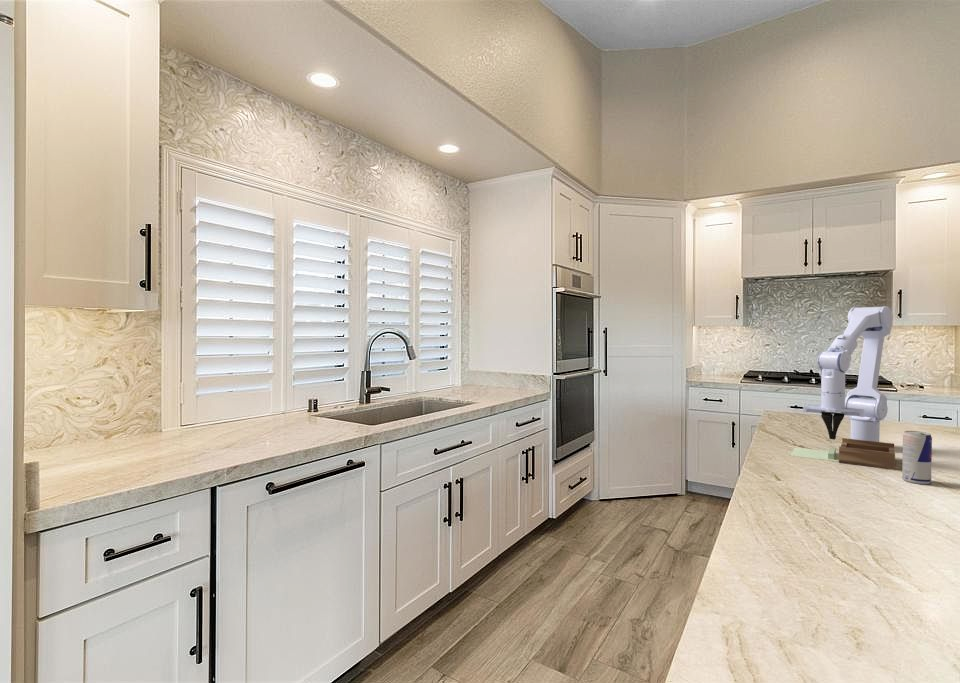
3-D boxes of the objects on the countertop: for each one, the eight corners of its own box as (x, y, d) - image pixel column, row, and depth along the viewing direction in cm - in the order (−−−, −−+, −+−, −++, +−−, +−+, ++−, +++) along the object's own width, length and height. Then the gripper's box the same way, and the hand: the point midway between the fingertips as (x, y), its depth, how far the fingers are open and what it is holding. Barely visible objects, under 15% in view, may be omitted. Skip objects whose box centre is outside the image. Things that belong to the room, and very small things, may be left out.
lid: (795, 449, 157) (795, 442, 157) (840, 454, 149) (840, 447, 149) (790, 457, 147) (790, 449, 147) (838, 463, 140) (838, 455, 140)
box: (842, 452, 150) (842, 438, 150) (894, 458, 142) (894, 443, 142) (838, 462, 139) (839, 447, 139) (894, 470, 131) (895, 453, 131)
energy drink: (937, 484, 119) (938, 435, 119) (914, 484, 119) (915, 435, 119) (918, 478, 125) (918, 430, 124) (896, 478, 125) (897, 430, 124)
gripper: (801, 392, 147) (801, 437, 147) (863, 395, 137) (863, 444, 138) (804, 389, 152) (804, 433, 152) (864, 393, 143) (864, 440, 143)
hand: (832, 438), depth 146 cm, fingers closed
